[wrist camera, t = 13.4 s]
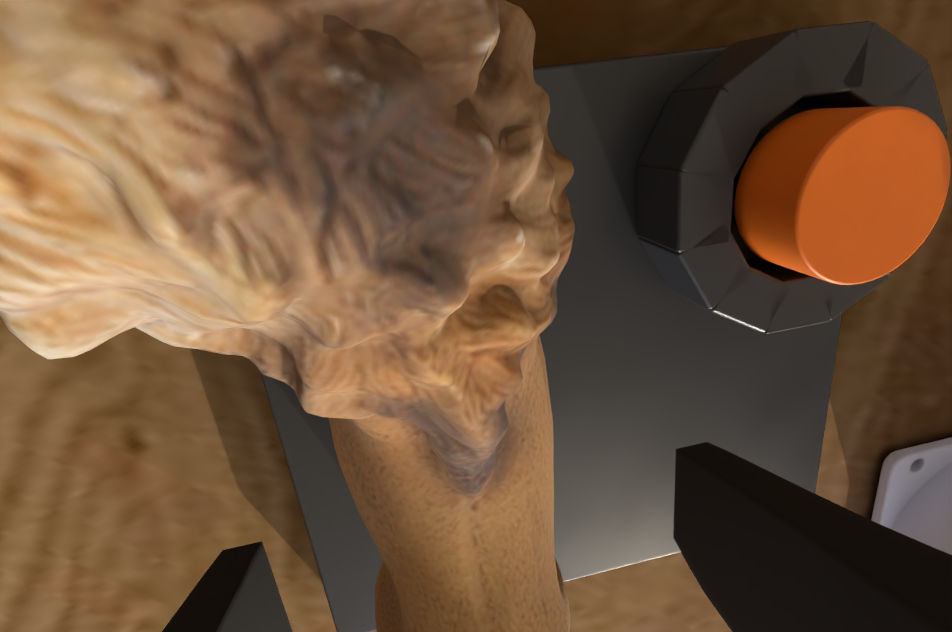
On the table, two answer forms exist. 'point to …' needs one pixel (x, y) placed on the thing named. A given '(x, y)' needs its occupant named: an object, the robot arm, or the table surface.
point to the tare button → (843, 191)
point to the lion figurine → (317, 248)
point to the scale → (656, 299)
